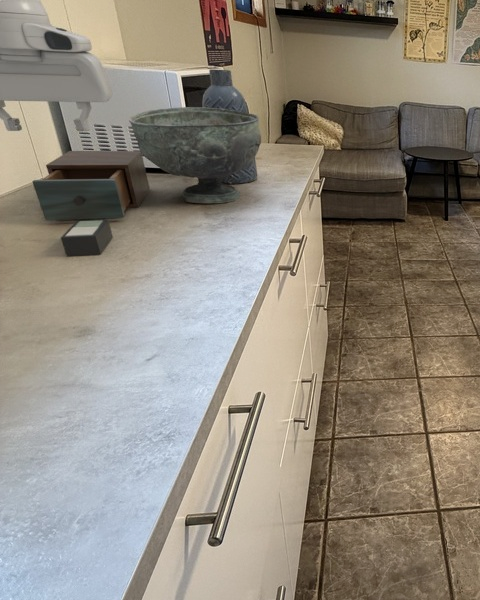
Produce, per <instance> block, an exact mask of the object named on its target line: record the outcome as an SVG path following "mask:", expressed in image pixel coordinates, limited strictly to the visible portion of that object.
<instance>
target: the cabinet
mask: <svg viewBox="0 0 480 600" xmlns="http://www.w3.org/2000/svg"><path fill="white" fill-rule="evenodd" d="M45 167H46V169H47V172H48V175H49V174H51V173H52V172H54V171H55V170H57V169H119V168H125V173H126V177H127V181H128V185H129V189H130V193H131V197H132V201H131V202H130V203H129V205H128V206H127V207H126V209H136V208H137V209H138V208H139V207H140V206H141V204H142V202H143V201H144V200H145V198H146V197H147V195H148V193H149V192H150V190H151V188H150V184H149V179H148V175H147V171H146V170H147V169H146V165H145V162H144V156H143V155H142V153H141V151H140V150H69V151H67V152H65V153H64V154H62V155H60V156H58V157H57V158H56V159H54V160H52V161H50V162H48V163H47V164H46V165H45Z"/></svg>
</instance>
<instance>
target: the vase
mask: <svg viewBox="0 0 480 600" xmlns="http://www.w3.org/2000/svg"><path fill="white" fill-rule="evenodd" d="M208 71H209V79H210V85H209V87H207V88H206V90H205V91H204V93H203V95H202V104H201V105H202V107H206V108H217V109H227V110H235V111H238V112H245V113H248V114H249V110H248V106H247V103H246V100H245V97H244V96H243V94H242V93H241V92H240V90H239V89H237V88H236V87H235V86H233V85H234V84H233V77H232V71H231V70H230V69H213V68H211V69H210V68H209V70H208ZM257 179H258V168H257V161H256V157H255V158H254V159H253V160H252V161H251V163H250V164H248V165H247V166H246V167H245V168H243V169H242V170H240V171H238V172H236V173H233V174H231V175H228V176H224V177H220V178H219V181H220V182H221V183H223V184H228V185H237V184H246V183H251V182H255V181H256V180H257Z"/></svg>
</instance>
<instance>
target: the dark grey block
mask: <svg viewBox="0 0 480 600" xmlns="http://www.w3.org/2000/svg"><path fill="white" fill-rule="evenodd" d="M111 228H112V227H111V224H110V221H109V220H108V219H94V220H77V221H75V222H74V223H73V224H72V225H71V226H70V228H68V230H66V231H65V233H64V234H63V235H62V236H60V240H61V243H62V246H63V249H64V252H65V255H66V257H80V256H83V257H84V256H98V255H99V256H100V255H102V253H103V252H104V251H105V250H106V248H107V246H108V245H109V244H110V242H111V240H112V239H113V237H114V236H113V233H112V232H113V231H112V229H111Z"/></svg>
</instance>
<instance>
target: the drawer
mask: <svg viewBox="0 0 480 600" xmlns="http://www.w3.org/2000/svg"><path fill="white" fill-rule="evenodd" d="M32 186H33V188H34V191H35V194H36V197H37V200H38V204H39V206H40V208H41V212H42V215H43V218H44V220H45V221H65V220H66V221H70V220H100V219H123V218H125V217H126V213H125V210H126V209H127V208H126V207H127V206H128V205H129V203H130V202H131V201H132V197H131V193H130V189H129V185H128V181H127V177H126V173H125V168H119V169H57V170H55V171H54V172H52V173H51V174H49V173H48V174H47V175H46V176H44V177H43V178H42V179H34V180H32Z"/></svg>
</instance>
